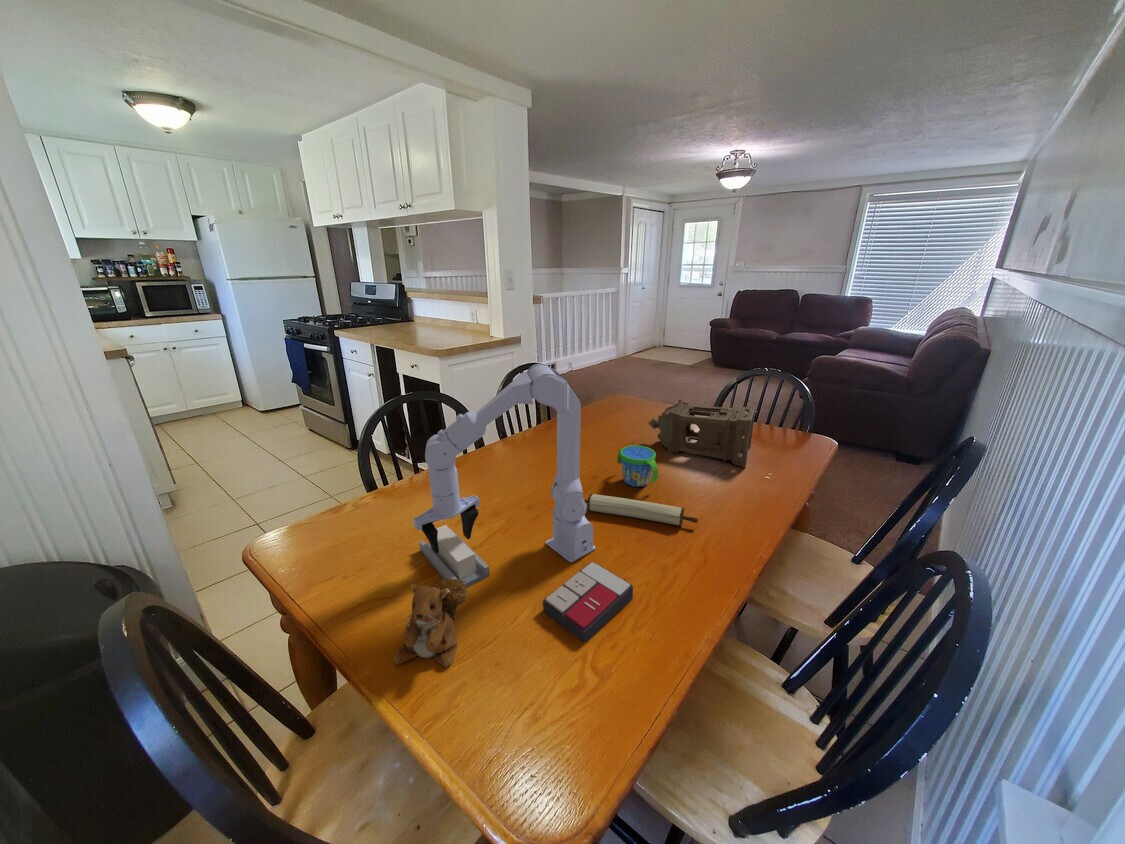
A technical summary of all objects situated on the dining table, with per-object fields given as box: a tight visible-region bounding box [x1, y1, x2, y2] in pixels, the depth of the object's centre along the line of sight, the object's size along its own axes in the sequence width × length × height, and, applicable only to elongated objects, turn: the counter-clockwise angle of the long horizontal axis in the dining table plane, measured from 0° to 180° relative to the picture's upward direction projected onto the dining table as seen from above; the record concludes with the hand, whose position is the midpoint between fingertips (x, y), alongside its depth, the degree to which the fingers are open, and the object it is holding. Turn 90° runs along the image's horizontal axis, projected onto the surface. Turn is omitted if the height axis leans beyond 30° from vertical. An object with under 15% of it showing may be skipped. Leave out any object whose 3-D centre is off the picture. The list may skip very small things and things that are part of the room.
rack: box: [418, 528, 490, 589], centre depth 96 cm, size 18×8×2 cm, turn 40°
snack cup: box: [616, 444, 659, 488], centre depth 130 cm, size 16×10×10 cm
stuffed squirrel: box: [392, 579, 470, 668], centre depth 75 cm, size 10×14×13 cm
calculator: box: [542, 561, 634, 643], centre depth 84 cm, size 11×4×15 cm
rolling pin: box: [583, 492, 699, 528], centre depth 113 cm, size 32×6×5 cm, turn 71°
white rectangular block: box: [436, 524, 477, 579], centre depth 96 cm, size 14×4×4 cm, turn 40°
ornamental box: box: [648, 399, 756, 469], centre depth 151 cm, size 35×18×18 cm, turn 62°
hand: (451, 543), depth 95 cm, fingers open, 7 cm apart
